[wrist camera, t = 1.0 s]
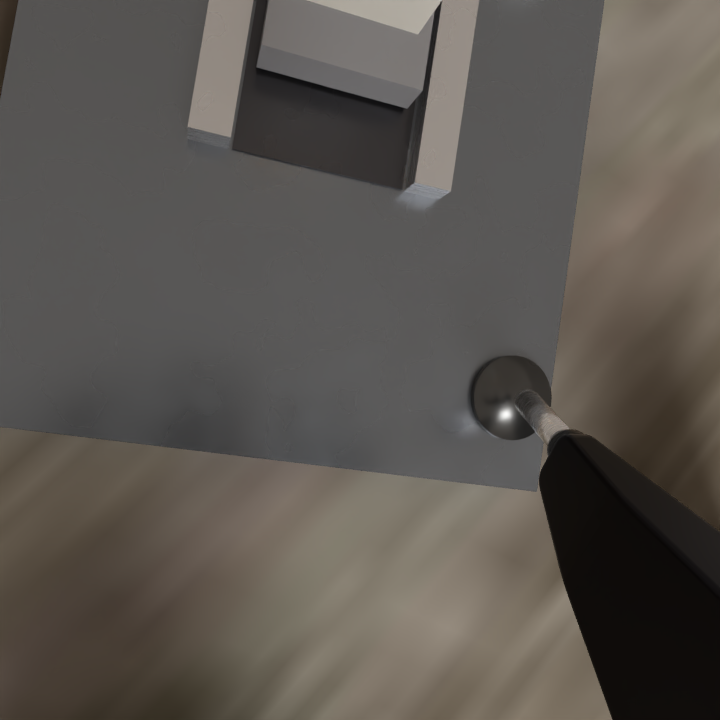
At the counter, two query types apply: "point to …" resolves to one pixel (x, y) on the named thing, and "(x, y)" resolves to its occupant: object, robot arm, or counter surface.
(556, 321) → the console
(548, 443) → the toggle lever
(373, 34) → the slide paddle
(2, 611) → the counter surface
